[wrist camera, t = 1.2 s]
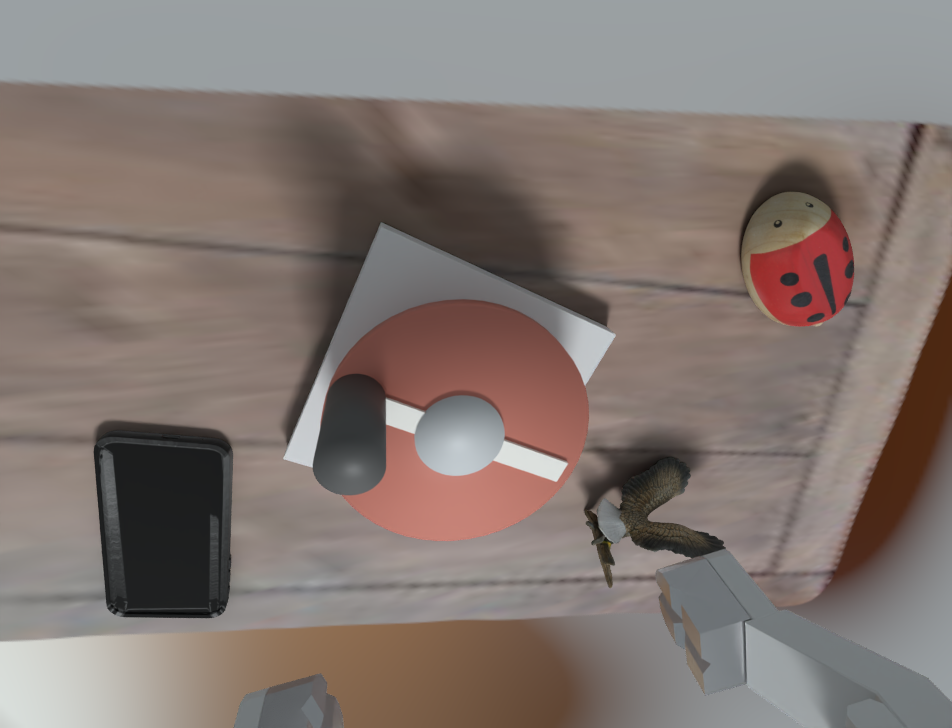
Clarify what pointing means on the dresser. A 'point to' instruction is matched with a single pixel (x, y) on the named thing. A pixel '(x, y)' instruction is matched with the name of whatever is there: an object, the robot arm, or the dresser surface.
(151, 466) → the phone
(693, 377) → the dresser surface
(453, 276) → the square base plate
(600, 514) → the eagle figurine
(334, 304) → the dresser surface
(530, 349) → the handwheel
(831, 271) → the ladybug figurine
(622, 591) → the dresser surface
